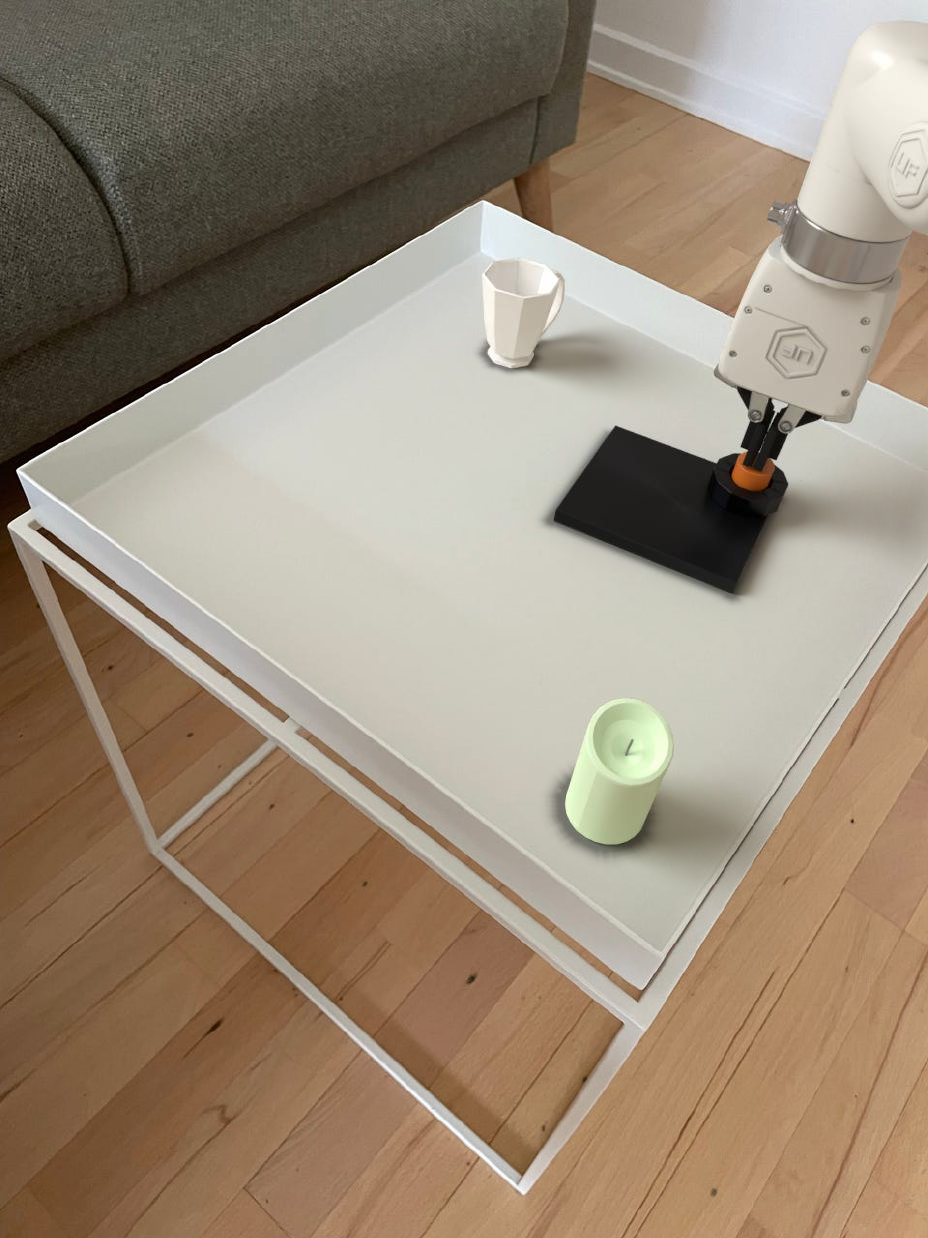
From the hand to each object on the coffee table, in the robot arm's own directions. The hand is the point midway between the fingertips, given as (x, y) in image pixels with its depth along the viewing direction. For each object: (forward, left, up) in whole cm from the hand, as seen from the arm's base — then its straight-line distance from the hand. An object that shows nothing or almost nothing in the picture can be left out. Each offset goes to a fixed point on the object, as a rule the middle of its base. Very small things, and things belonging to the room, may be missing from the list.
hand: (756, 458), depth 78 cm
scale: (+5, +4, -5) cm, 8 cm away
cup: (+25, -10, -5) cm, 27 cm away
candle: (-1, +33, -5) cm, 33 cm away
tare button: (0, 0, -2) cm, 2 cm away
